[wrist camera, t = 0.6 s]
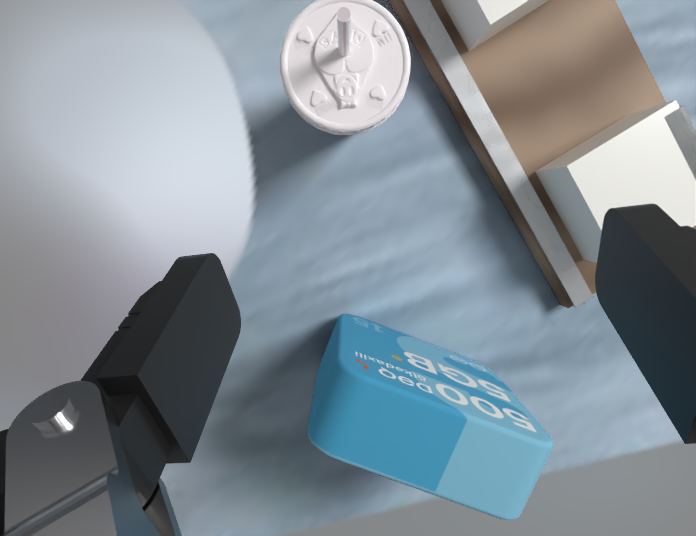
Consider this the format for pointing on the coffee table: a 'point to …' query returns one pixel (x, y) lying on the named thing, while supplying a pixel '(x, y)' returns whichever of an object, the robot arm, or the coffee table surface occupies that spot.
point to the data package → (425, 419)
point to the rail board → (558, 120)
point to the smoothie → (345, 65)
